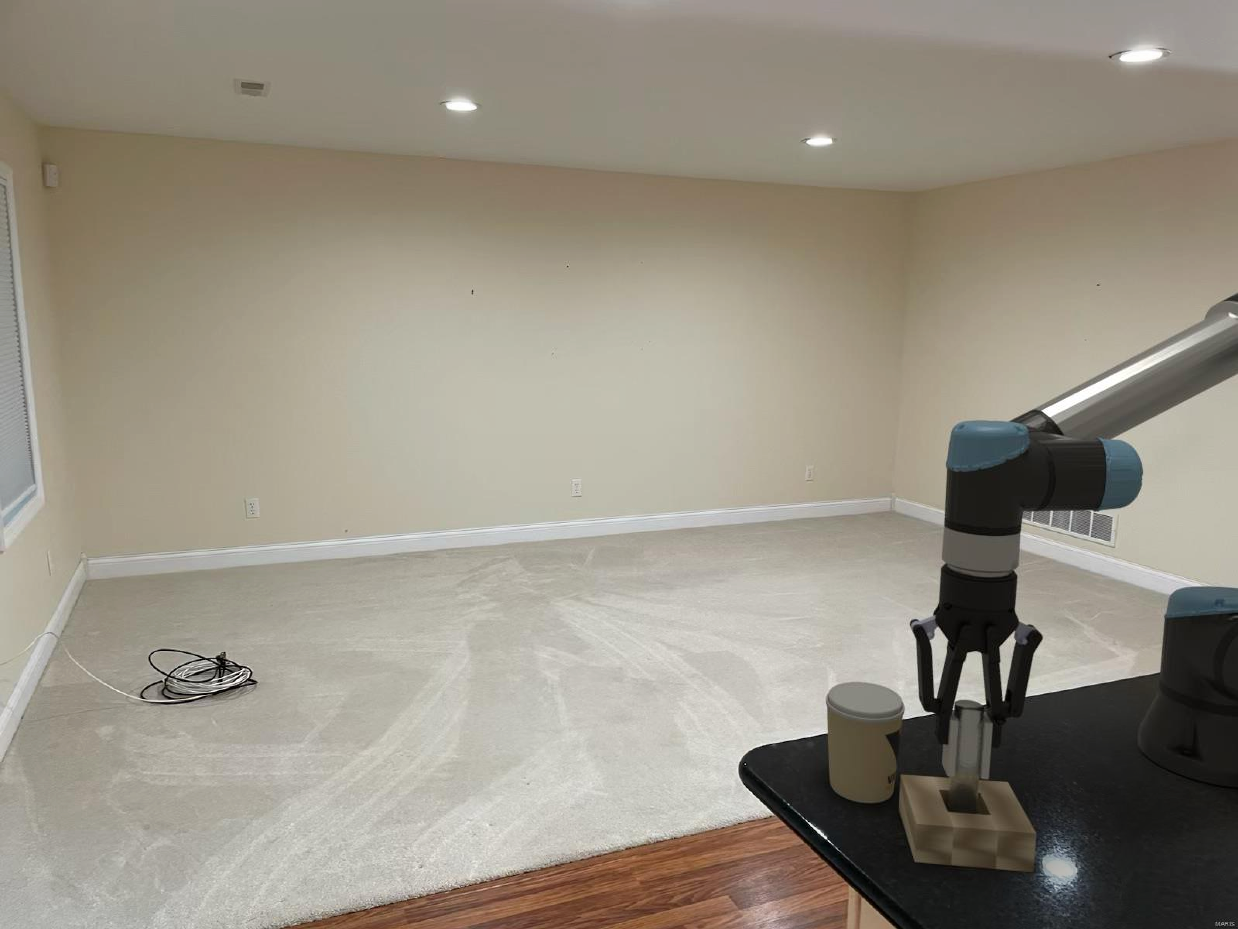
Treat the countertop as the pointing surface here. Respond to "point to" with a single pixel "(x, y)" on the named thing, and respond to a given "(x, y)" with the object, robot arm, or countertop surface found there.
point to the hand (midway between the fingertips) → (965, 771)
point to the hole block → (966, 826)
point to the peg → (967, 757)
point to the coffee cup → (863, 740)
